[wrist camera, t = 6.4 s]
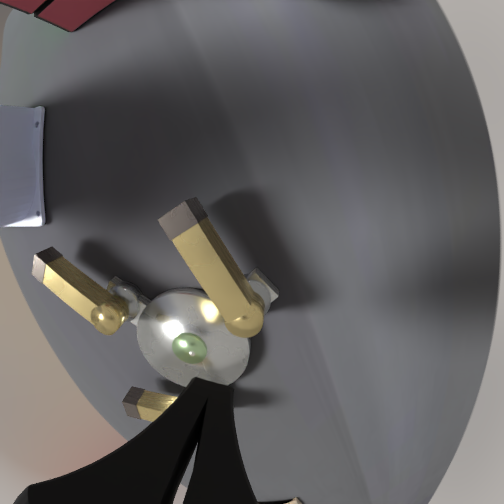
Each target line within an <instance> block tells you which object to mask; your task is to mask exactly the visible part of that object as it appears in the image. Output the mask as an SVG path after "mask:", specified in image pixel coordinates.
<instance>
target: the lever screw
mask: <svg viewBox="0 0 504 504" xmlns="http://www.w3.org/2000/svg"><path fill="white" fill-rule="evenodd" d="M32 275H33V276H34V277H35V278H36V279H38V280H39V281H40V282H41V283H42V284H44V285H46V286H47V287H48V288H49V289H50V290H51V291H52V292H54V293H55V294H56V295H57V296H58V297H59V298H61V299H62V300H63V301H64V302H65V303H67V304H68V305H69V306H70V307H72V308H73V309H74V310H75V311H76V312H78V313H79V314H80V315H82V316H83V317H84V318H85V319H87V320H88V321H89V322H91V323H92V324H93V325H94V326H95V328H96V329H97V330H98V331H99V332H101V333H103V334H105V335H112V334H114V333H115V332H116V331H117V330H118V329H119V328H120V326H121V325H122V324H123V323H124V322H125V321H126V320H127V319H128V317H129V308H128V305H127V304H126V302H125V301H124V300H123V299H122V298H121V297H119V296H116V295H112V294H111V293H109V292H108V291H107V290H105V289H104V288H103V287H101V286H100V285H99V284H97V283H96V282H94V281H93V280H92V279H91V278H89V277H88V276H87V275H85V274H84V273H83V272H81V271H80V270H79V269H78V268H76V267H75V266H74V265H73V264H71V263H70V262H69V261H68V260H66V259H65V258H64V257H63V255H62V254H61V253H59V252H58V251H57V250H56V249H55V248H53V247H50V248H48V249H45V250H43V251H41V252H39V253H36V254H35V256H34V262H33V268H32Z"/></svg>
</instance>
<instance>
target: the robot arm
mask: <svg viewBox="0 0 504 504" xmlns="http://www.w3.org/2000/svg"><path fill="white" fill-rule="evenodd" d="M44 113H45V109H44V107H43V106H38V107H35V108H29V107H20V106H9V105H0V227H27V226H42V225H44V224H45V209H44V195H43V165H42V156H43V127H44ZM38 124H39V125H38ZM39 212H40V213H39ZM233 392H234V389H233V388H232V387H231V386H227V385H223V384H219V383H216V382H212V381H209V380H205V379H202V378H198V377H194V378H192V379H191V381H190V382H189V384H188V385H187V386H186V388H185V389H184V390H183V392H182V393H181V394H180V395H179V396H178V397H177V399H176V400H175V401H174V402H173V403H172V404H171V405H170V406H169V407H168V408H167V409H166V410H165V411H164V412H163V413H162V414H161V415H160V416H159V417H158V418H157V419H156V420H155V421H153V422H152V423H151V424H150V425H149V426H148V427H146V428H145V429H144V430H143V431H142V432H140V433H139V434H138V435H137V436H135V437H134V438H133V439H131V440H130V441H128V442H127V443H126V444H124V445H123V446H121V447H120V448H118V449H116V450H115V451H113V452H112V453H110V454H108V455H106V456H105V457H103V458H101V459H100V460H97V461H95V462H94V463H92V464H89V465H87V466H85V467H83V468H80V469H78V470H76V471H74V472H71V473H69V474H66V475H63V476H61V477H57V478H54V479H51V480H47V481H43V482H39V483H36V484H32V485H29V486H28V487H27V488H26V489H25V490H24V491H23V492H22V493H21V494H20V495H19V496H18V497H17V499H16V500H15V502H14V503H13V504H173V501H174V498H175V495H176V492H177V490H178V487H179V485H180V482H181V480H182V478H183V476H184V473H185V471H186V469H187V466H188V464H189V462H190V459H191V457H192V455H193V452H194V450H195V448H196V445H197V443H198V445H197V451H196V456H195V462H194V468H193V473H192V476H191V479H190V482H189V485H188V489H187V492H186V495H185V498H184V501H183V504H258V502H257V500H256V497H255V495H254V493H253V490H252V488H251V485H250V482H249V480H248V477H247V474H246V471H245V468H244V464H243V461H242V457H241V453H240V449H239V445H238V440H237V434H236V428H235V422H234V412H233Z"/></svg>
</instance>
